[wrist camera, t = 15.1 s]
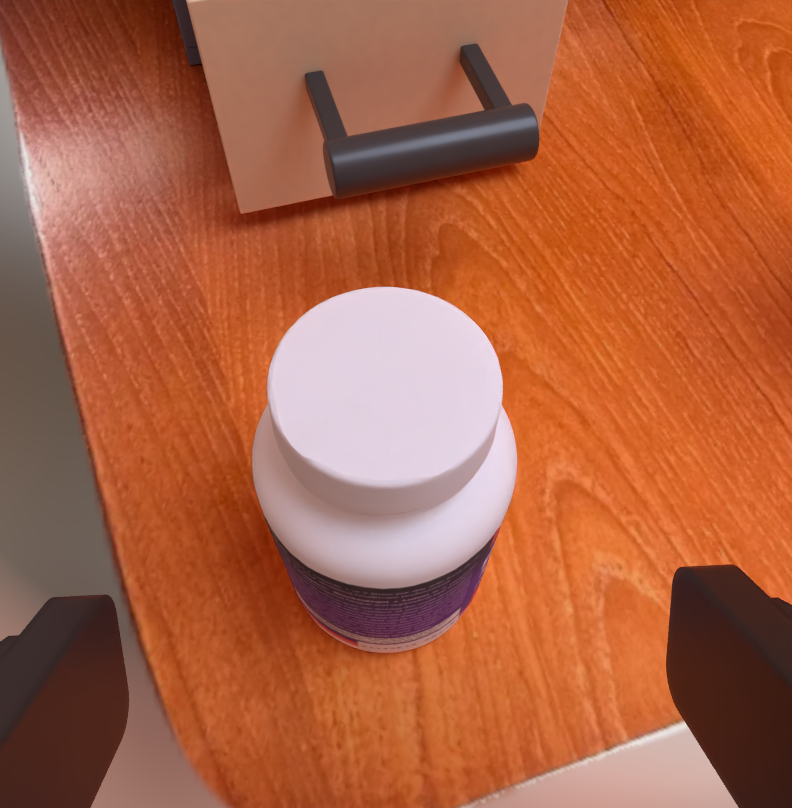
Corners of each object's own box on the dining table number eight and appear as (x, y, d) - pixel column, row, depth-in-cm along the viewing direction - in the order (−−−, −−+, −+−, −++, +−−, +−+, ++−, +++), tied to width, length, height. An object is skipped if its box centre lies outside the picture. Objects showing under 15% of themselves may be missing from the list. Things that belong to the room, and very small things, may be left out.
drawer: (585, 246, 25) (658, 37, 18) (265, 318, 23) (214, 118, 17) (429, -35, 34) (439, -248, 27) (188, 2, 32) (134, -214, 25)
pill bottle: (509, 620, 19) (602, 474, 11) (319, 684, 19) (260, 579, 10) (443, 450, 22) (476, 226, 14) (272, 499, 21) (194, 293, 13)
